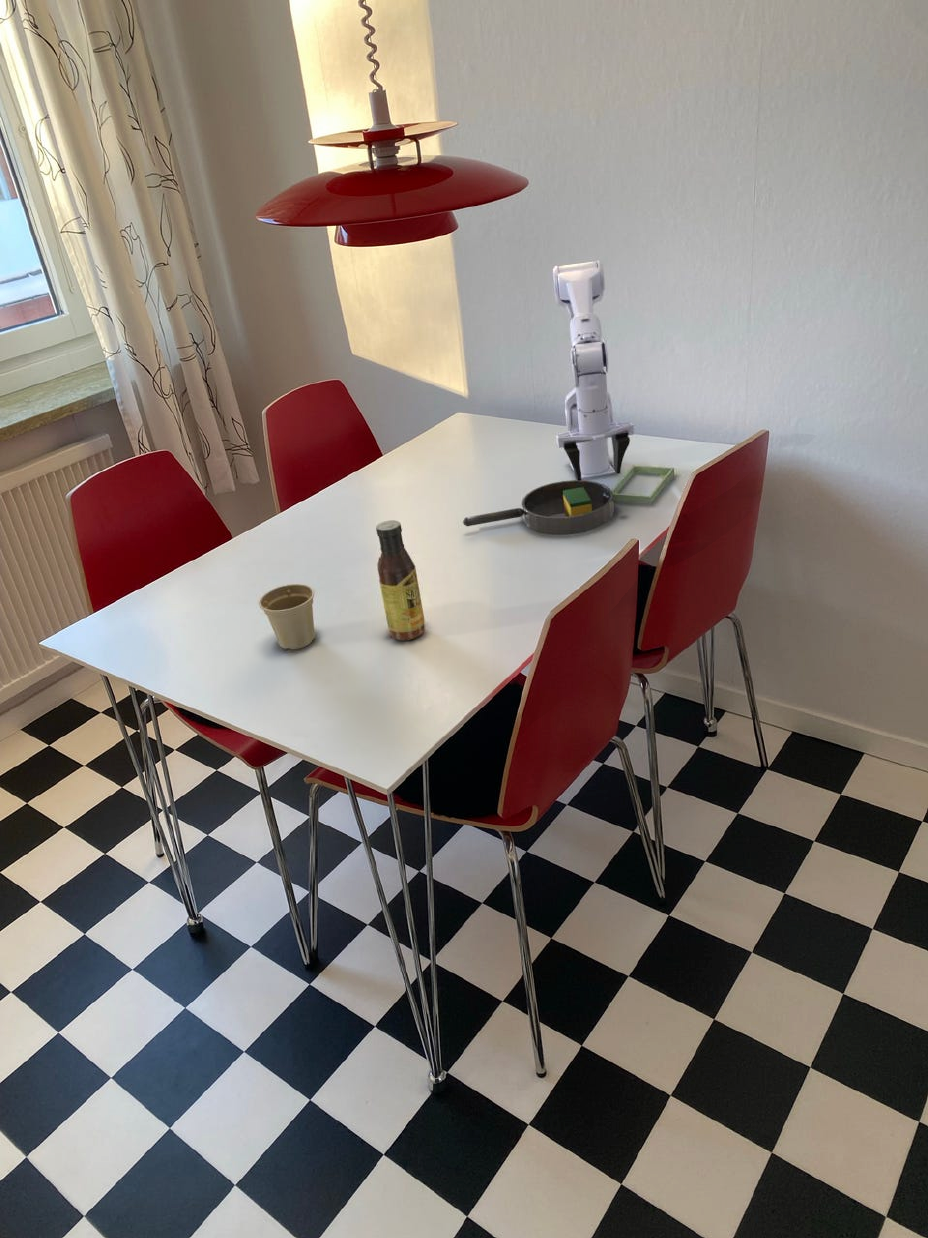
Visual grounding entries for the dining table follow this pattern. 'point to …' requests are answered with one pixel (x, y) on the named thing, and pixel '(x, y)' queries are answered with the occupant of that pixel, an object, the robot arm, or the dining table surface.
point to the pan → (549, 512)
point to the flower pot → (290, 614)
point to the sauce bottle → (399, 584)
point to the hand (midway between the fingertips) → (597, 475)
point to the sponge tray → (662, 471)
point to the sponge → (576, 501)
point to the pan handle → (493, 517)
